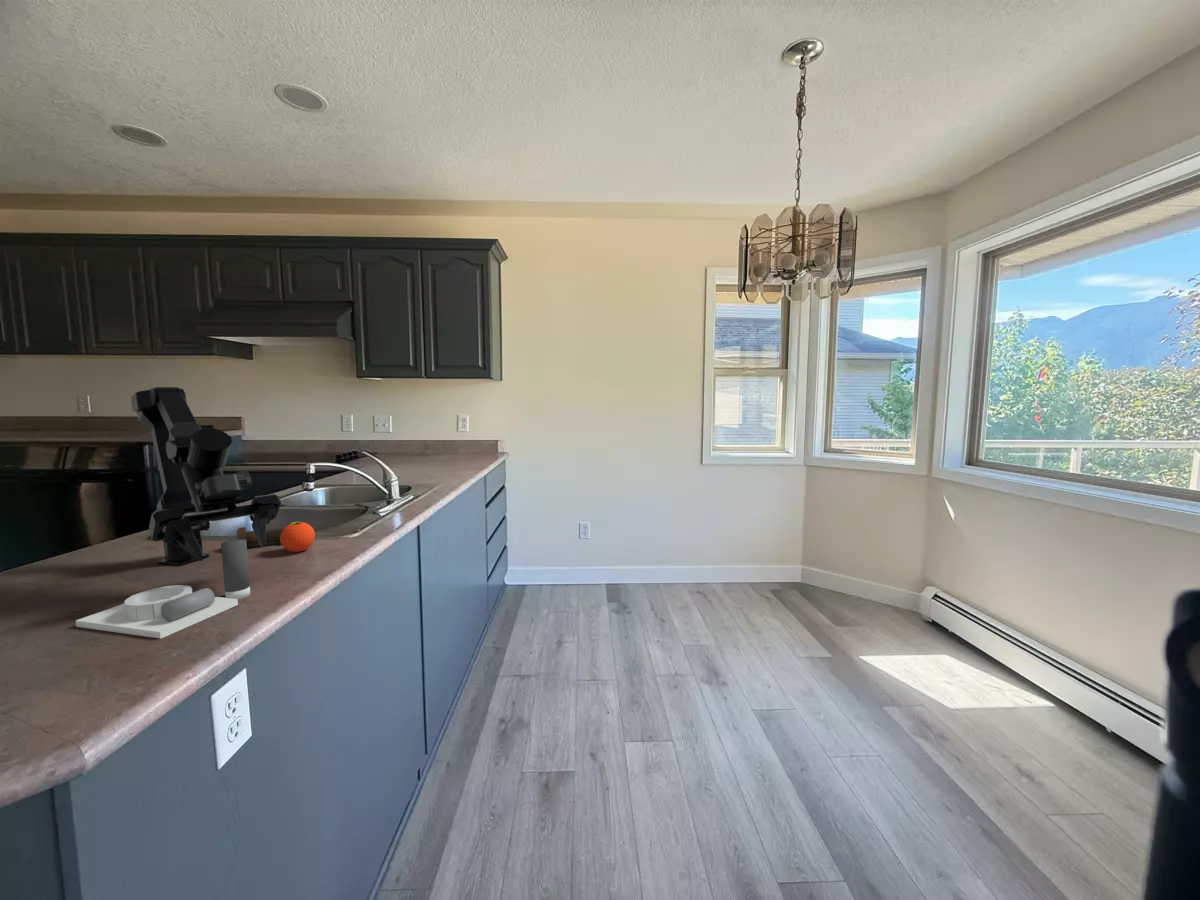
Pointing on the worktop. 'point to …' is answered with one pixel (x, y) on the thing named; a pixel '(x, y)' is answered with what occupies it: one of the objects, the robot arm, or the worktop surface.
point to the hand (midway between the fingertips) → (234, 552)
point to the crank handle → (235, 569)
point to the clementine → (297, 536)
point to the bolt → (252, 540)
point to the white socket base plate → (159, 611)
